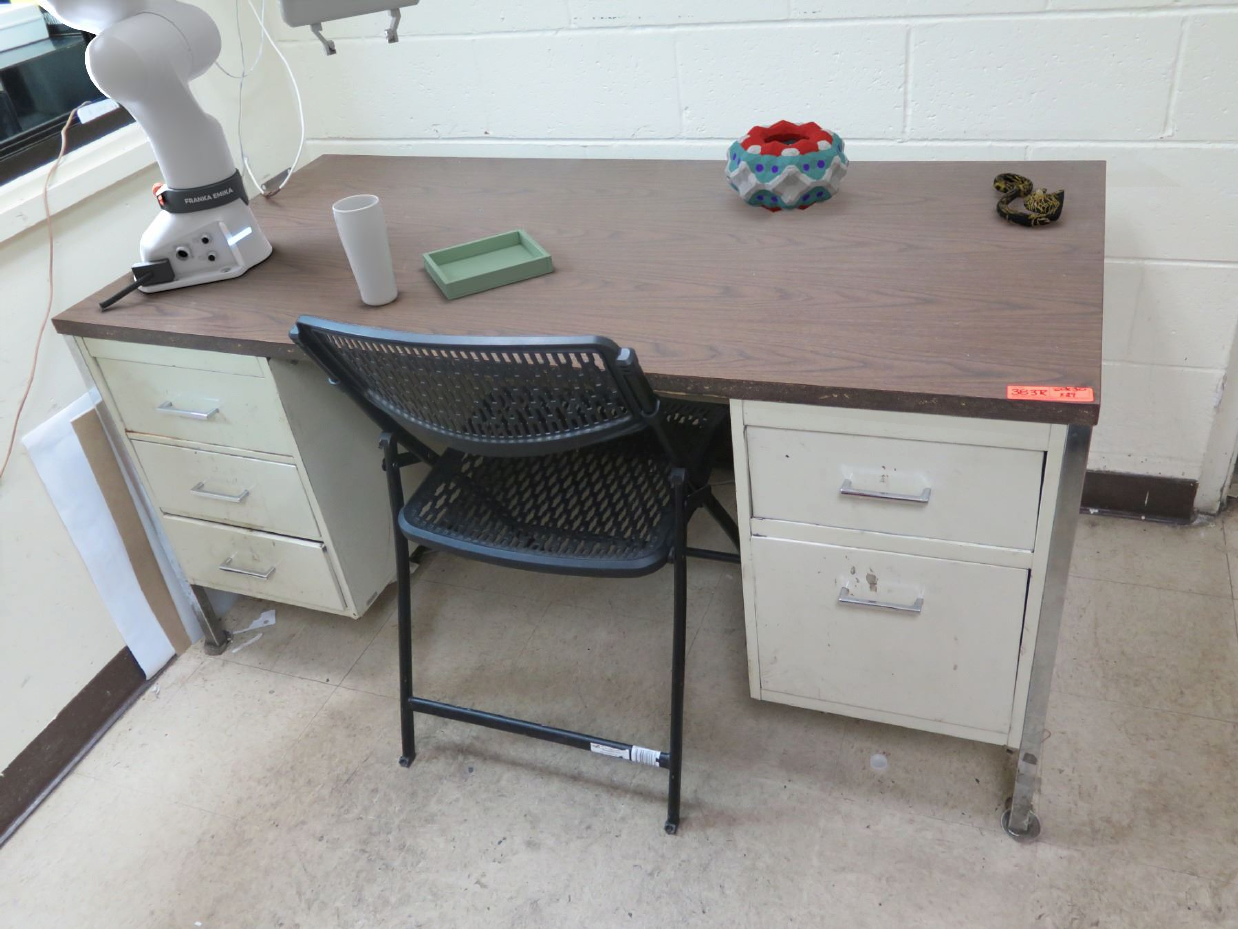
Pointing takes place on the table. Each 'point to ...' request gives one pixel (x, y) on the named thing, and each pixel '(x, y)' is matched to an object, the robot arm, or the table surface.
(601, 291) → the table surface
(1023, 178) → the rubber snake
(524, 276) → the tray
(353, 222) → the drinking glass
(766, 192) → the decorative model
